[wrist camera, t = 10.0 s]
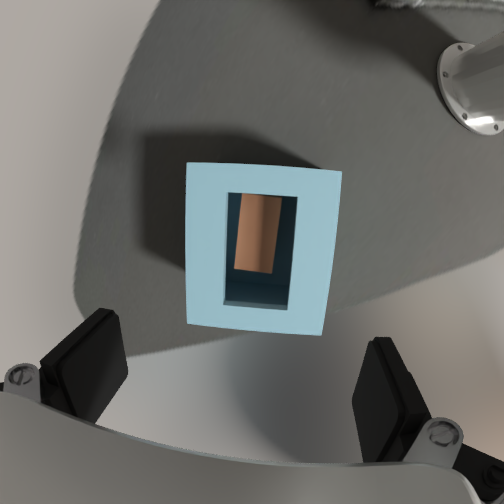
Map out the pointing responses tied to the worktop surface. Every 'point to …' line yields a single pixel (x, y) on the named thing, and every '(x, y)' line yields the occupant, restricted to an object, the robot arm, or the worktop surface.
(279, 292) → the box
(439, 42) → the worktop surface
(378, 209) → the worktop surface
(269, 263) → the brown wooden block
